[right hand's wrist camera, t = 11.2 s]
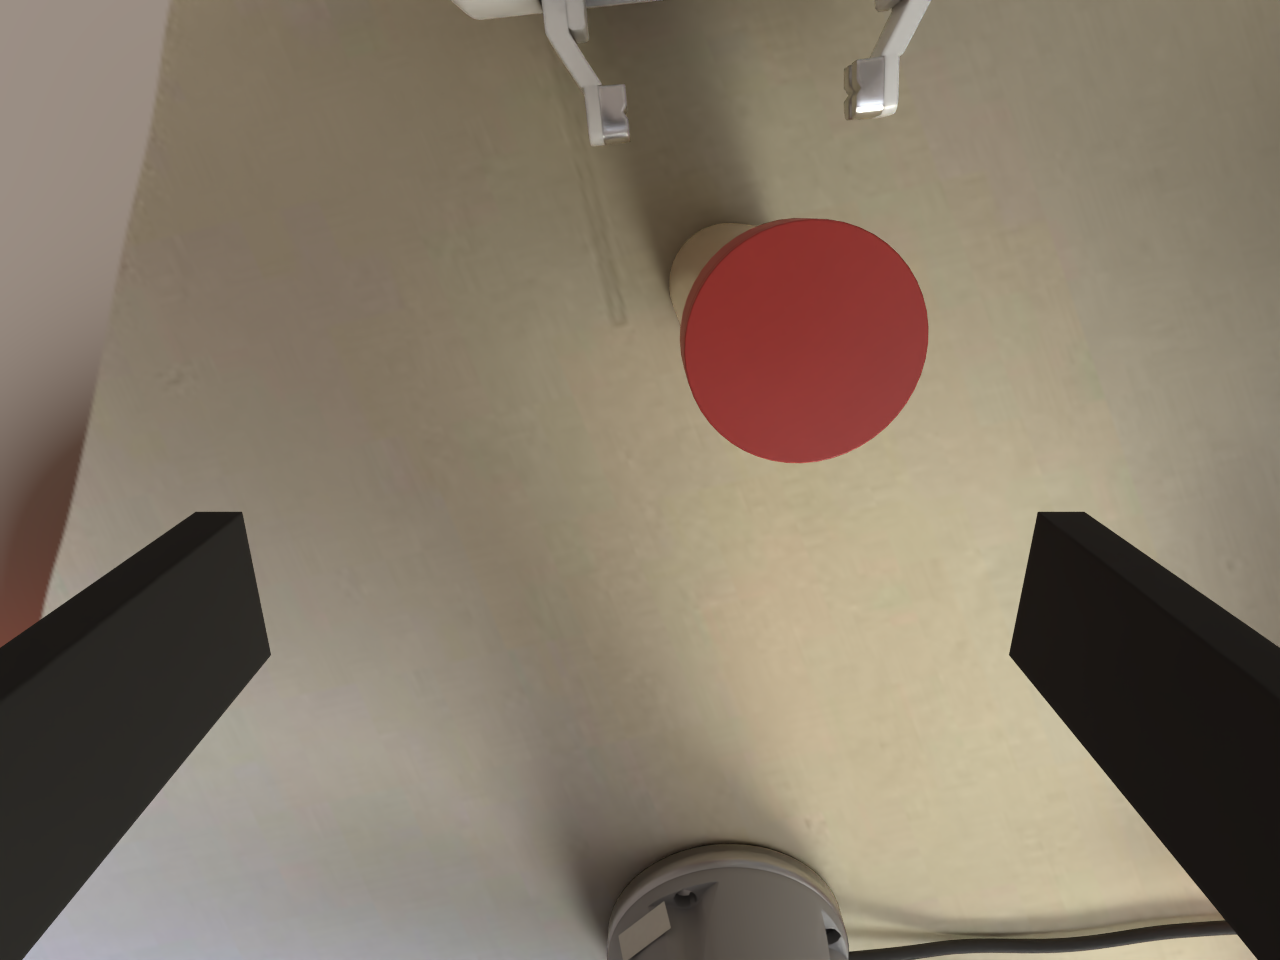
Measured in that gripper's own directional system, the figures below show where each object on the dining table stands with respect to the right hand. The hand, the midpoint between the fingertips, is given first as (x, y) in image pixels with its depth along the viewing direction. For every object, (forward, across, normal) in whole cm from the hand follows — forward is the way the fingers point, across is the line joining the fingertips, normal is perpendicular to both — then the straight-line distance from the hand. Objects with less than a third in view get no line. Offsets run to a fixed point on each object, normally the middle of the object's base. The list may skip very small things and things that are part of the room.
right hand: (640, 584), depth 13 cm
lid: (+8, +4, +3) cm, 9 cm away
